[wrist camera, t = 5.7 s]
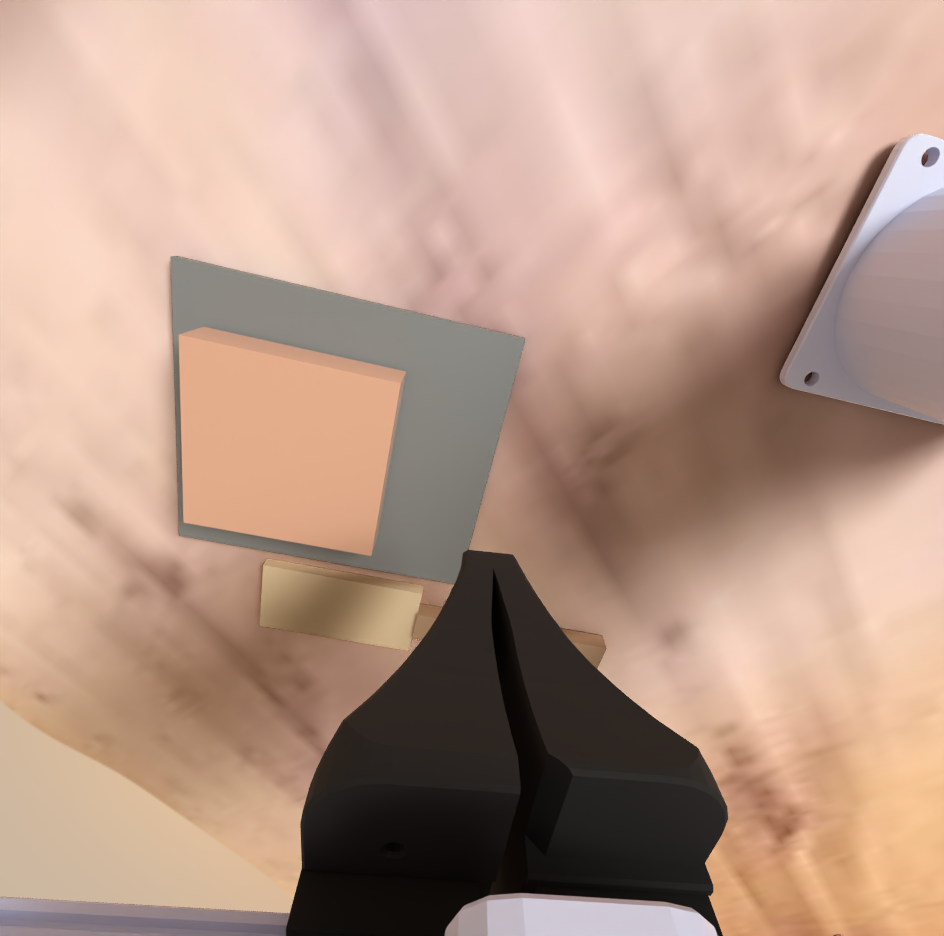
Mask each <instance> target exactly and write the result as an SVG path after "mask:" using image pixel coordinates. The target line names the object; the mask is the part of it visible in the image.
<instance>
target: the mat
mask: <svg viewBox="0 0 944 936" xmlns="http://www.w3.org/2000/svg"><path fill="white" fill-rule="evenodd" d="M171 286H172V318H173V350H174V383H175V415H176V447H177V480H178V512H179V536H185V537H190V538H196V539H202V540H207V541H213V542H219V543H224V544H230V545H236V546H241V547H247V548H253V549H258V550H264V551H270V552H275V553H281V554H287V555H292V556H298V557H304V558H310V559H315V560H321V561H327V562H332V563H338V564H344V565H349V566H355V567H361V568H366V569H372V570H378V571H383V572H389V573H395V574H400V575H406V576H412V577H417V578H423V579H429V580H434V581H440V582H446V583H452V584H455V582H456V580H457V577H458V574H459V571H460V568H461V562H462V555H463V553H464V552H465V551H467V550H468V549H469V545H470V542H471V538H472V534H473V531H474V527H475V523H476V520H477V516H478V512H479V509H480V505H481V501H482V498H483V494H484V490H485V487H486V483H487V479H488V476H489V472H490V468H491V464H492V461H493V457H494V453H495V450H496V446H497V442H498V439H499V435H500V431H501V428H502V424H503V420H504V417H505V413H506V409H507V406H508V402H509V398H510V394H511V391H512V387H513V383H514V380H515V376H516V372H517V369H518V365H519V361H520V358H521V354H522V350H523V347H524V343H525V338H523V337H519V336H515V335H510V334H506V333H502V332H498V331H493V330H489V329H485V328H481V327H476V326H472V325H468V324H464V323H459V322H455V321H451V320H447V319H442V318H438V317H434V316H430V315H425V314H421V313H417V312H413V311H408V310H404V309H400V308H396V307H391V306H387V305H383V304H379V303H374V302H370V301H366V300H362V299H357V298H353V297H349V296H345V295H341V294H336V293H332V292H328V291H324V290H319V289H315V288H311V287H307V286H302V285H298V284H294V283H290V282H285V281H281V280H277V279H273V278H268V277H264V276H260V275H256V274H251V273H247V272H243V271H239V270H234V269H230V268H226V267H222V266H217V265H213V264H209V263H205V262H200V261H196V260H192V259H188V258H183V257H179V256H171ZM201 327H208V328H212V329H217V330H221V331H226V332H230V333H235V334H239V335H244V336H248V337H253V338H257V339H262V340H267V341H271V342H276V343H280V344H285V345H289V346H294V347H298V348H303V349H307V350H312V351H316V352H321V353H325V354H330V355H334V356H339V357H343V358H348V359H352V360H357V361H361V362H366V363H370V364H375V365H379V366H384V367H388V368H393V369H397V370H402V371H406V375H405V381H404V387H403V392H402V398H401V404H400V410H399V415H398V421H397V427H396V433H395V438H394V444H393V450H392V456H391V461H390V467H389V473H388V479H387V484H386V490H385V496H384V502H383V507H382V513H381V519H380V525H379V530H378V535H377V538H376V542H375V545H374V548H373V552H372V555H371V556H368V555H362V554H357V553H351V552H346V551H340V550H334V549H329V548H323V547H318V546H312V545H307V544H301V543H295V542H290V541H284V540H279V539H273V538H267V537H262V536H256V535H251V534H245V533H239V532H234V531H228V530H223V529H217V528H212V527H206V526H200V525H195V524H189V523H184V521H183V482H182V444H181V406H180V367H179V334H182V333H185V332H189V331H192V330H195V329H198V328H201Z"/></svg>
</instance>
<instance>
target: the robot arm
mask: <svg viewBox="0 0 944 936" xmlns="http://www.w3.org/2000/svg"><path fill="white" fill-rule="evenodd" d="M925 151H927V152H928V159H927V162H926V163H925V165H924V166H923V165H922V163H921V159H922V155H923V154H924V153H925ZM810 372H812V377H811V379H810V380H809V381H807V382H806V383H805V382H804V380H805V377H806V376H807V374H809V373H810ZM780 381H781V383H782V384H783V385H785V386H787V387H789V388H792V389H796V390H800V391H804V392H808V393H812V394H817V395H821V396H825V397H829V398H833V399H838V400H842V401H846V402H850V403H854V404H859V405H863V406H867V407H871V408H875V409H880V410H884V411H888V412H892V413H896V414H901V415H905V416H909V417H913V418H917V419H921V420H926V421H930V422H934V423H938V424H942V425H944V140H943V139H940V138H937V137H933V136H930V135H927V134H914V135H910V136H908V137H905V138H903V139H902V140H900V141H899V142H898V143H897V144H896V145H895V147H894V148H893V150H892V152H891V154H890V156H889V158H888V160H887V162H886V164H885V166H884V168H883V169H882V171H881V173H880V175H879V177H878V179H877V181H876V183H875V185H874V187H873V189H872V191H871V193H870V195H869V197H868V199H867V201H866V203H865V205H864V207H863V209H862V211H861V213H860V215H859V217H858V219H857V221H856V223H855V225H854V227H853V229H852V231H851V233H850V235H849V237H848V239H847V241H846V243H845V245H844V247H843V249H842V251H841V253H840V255H839V257H838V259H837V261H836V263H835V265H834V267H833V269H832V271H831V273H830V275H829V277H828V279H827V281H826V282H825V284H824V286H823V288H822V290H821V292H820V294H819V296H818V298H817V300H816V302H815V304H814V306H813V308H812V310H811V312H810V314H809V316H808V318H807V320H806V322H805V324H804V326H803V328H802V330H801V332H800V334H799V336H798V338H797V340H796V342H795V344H794V346H793V348H792V350H791V352H790V354H789V356H788V358H787V360H786V362H785V364H784V366H783V368H782V370H781V373H780ZM727 820H728V812H727V806H726V803H725V801H724V799H723V797H722V795H721V792H720V790H719V788H718V786H717V783H716V781H715V779H714V777H713V775H712V773H711V771H710V769H709V767H708V765H707V764H706V762H705V760H704V758H703V757H702V755H701V753H700V751H699V749H698V748H697V747H696V746H694V745H693V744H691V743H690V742H689V741H687V740H686V739H684V738H683V737H681V736H680V735H678V734H677V733H675V732H674V731H672V730H671V729H670V728H668V727H667V726H665V725H664V724H662V723H661V722H659V721H658V720H657V719H655V718H654V717H653V716H651V715H650V714H649V713H647V712H646V711H645V710H644V709H642V708H641V707H640V706H639V705H637V704H636V703H635V702H633V701H632V700H631V699H630V698H629V697H627V696H626V695H625V694H624V693H623V692H622V691H620V690H619V689H618V688H617V687H616V686H615V685H614V684H612V683H611V682H610V681H609V680H608V679H607V678H606V677H605V676H604V675H603V674H602V673H601V672H600V671H598V670H597V669H596V668H595V667H594V666H593V665H592V664H591V663H590V662H589V661H588V660H587V659H586V657H585V656H584V655H583V654H582V653H581V652H580V651H579V650H578V649H577V648H576V647H575V645H574V644H573V643H572V642H571V641H570V640H569V638H568V637H567V636H566V635H565V633H564V632H563V631H562V630H561V628H560V627H559V626H558V624H557V623H556V622H555V620H554V619H553V618H552V616H551V615H550V614H549V612H548V611H547V609H546V608H545V606H544V605H543V603H542V602H541V600H540V599H539V597H538V596H537V594H536V593H535V591H534V590H533V588H532V586H531V585H530V583H529V581H528V580H527V578H526V576H525V575H524V573H523V571H522V569H521V568H520V566H519V564H518V562H517V560H516V558H515V557H514V556H513V555H511V554H502V553H492V552H483V551H473V550H467V551H465V552H464V553H463V555H462V562H461V568H460V571H459V574H458V577H457V580H456V582H455V584H454V586H453V588H452V591H451V593H450V595H449V597H448V599H447V601H446V603H445V604H444V606H443V608H442V610H441V611H440V613H439V615H438V617H437V618H436V620H435V622H434V623H433V625H432V626H431V628H430V629H429V631H428V632H427V634H426V635H425V636H424V638H423V639H422V641H421V642H420V643H419V645H418V646H417V647H416V648H415V650H414V651H413V652H412V653H411V655H410V656H409V657H408V658H407V660H406V661H405V662H404V663H403V664H402V665H401V667H400V668H399V669H398V670H397V671H396V672H395V673H394V674H393V675H392V676H391V677H390V678H389V679H388V680H387V681H386V682H385V683H384V684H383V685H382V686H381V687H380V688H379V689H378V690H377V691H376V692H375V693H374V694H373V695H372V696H371V697H370V698H369V699H367V700H366V701H365V702H364V703H363V704H362V705H360V706H359V707H358V708H357V709H356V710H355V711H353V712H352V713H351V714H350V715H349V716H348V717H346V718H345V719H344V720H343V722H342V723H341V725H340V726H339V728H338V730H337V732H336V733H335V735H334V737H333V738H332V740H331V742H330V744H329V745H328V747H327V749H326V751H325V753H324V755H323V757H322V759H321V761H320V763H319V765H318V767H317V769H316V772H315V774H314V777H313V779H312V782H311V784H310V788H309V791H308V795H307V798H306V802H305V805H304V809H303V813H302V819H301V851H302V870H301V874H300V878H299V881H298V885H297V889H296V893H295V896H294V900H293V904H292V908H291V912H290V913H273V912H256V911H239V910H221V909H220V910H219V909H204V908H203V909H202V908H186V907H169V906H152V905H135V904H117V903H100V902H82V901H65V900H47V899H31V898H14V897H0V936H723V935H722V932H721V929H720V927H719V924H718V921H717V918H716V916H715V913H714V910H713V907H712V905H711V902H710V899H709V897H708V895H709V896H711V894H712V893H713V884H712V881H711V879H710V876H709V873H708V871H707V868H706V865H705V862H706V860H707V858H708V857H709V855H710V853H711V852H712V850H713V848H714V847H715V845H716V843H717V842H718V840H719V839H720V837H721V835H722V833H723V831H724V828H725V826H726V823H727Z"/></svg>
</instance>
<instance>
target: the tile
mask: <svg viewBox="0 0 944 936" xmlns="http://www.w3.org/2000/svg"><path fill="white" fill-rule="evenodd" d="M179 367H180V406H181V444H182V482H183V521H184V523H189V524H195V525H200V526H206V527H212V528H217V529H223V530H228V531H234V532H239V533H245V534H251V535H256V536H262V537H267V538H273V539H279V540H284V541H290V542H295V543H301V544H307V545H312V546H318V547H323V548H329V549H334V550H340V551H346V552H351V553H357V554H362V555H368V556H371V555H372V552H373V548H374V545H375V542H376V538H377V535H378V530H379V525H380V519H381V513H382V507H383V502H384V496H385V490H386V484H387V479H388V473H389V467H390V461H391V456H392V450H393V444H394V438H395V433H396V427H397V421H398V415H399V410H400V404H401V398H402V392H403V387H404V381H405V375H406V371H402V370H397V369H393V368H388V367H384V366H379V365H375V364H370V363H366V362H361V361H357V360H352V359H348V358H343V357H339V356H334V355H330V354H325V353H321V352H316V351H312V350H307V349H303V348H298V347H294V346H289V345H285V344H280V343H276V342H271V341H267V340H262V339H257V338H253V337H248V336H244V335H239V334H235V333H230V332H226V331H221V330H217V329H212V328H208V327H201V328H198V329H195V330H192V331H189V332H185V333H182V334H179Z"/></svg>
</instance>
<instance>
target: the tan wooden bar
mask: <svg viewBox="0 0 944 936" xmlns="http://www.w3.org/2000/svg"><path fill="white" fill-rule="evenodd" d="M422 592H423V586H422V585H417V584H411V583H405V582H399V581H394V580H388V579H382V578H377V577H371V576H365V575H359V574H354V573H348V572H342V571H336V570H331V569H325V568H319V567H313V566H308V565H302V564H296V563H291V562H285V561H279V560H273V559H268V558H267V560H266V561H265V563H264V564H263V575H262V592H261V609H260V626H264V627H270V628H275V629H281V630H287V631H293V632H299V633H305V634H311V635H317V636H323V637H329V638H334V639H340V640H346V641H352V642H358V643H364V644H370V645H376V646H382V647H388V648H394V649H399V650H405V651H409V648H410V644H411V640H412V638H416V639H423V638H424V636H425V635H426V634H427V632H428V631H429V629H430V628H431V626H432V625H433V623H434V622H435V620H436V618H437V617H438V615H439V613H440V611H441V610H442V608H443V607H438V606H432V605H426V604H420V601H421V597H422ZM561 630H562V631H563V632H564V633H565V635H566V636H567V637H568V638H569V640H570V641H571V642H572V643H573V644H574V645H575V647H576V648H577V649H578V650H579V651H580V652H581V653H582V654H583V655H584V656H585V657H586V659H587V660H588V661H589V662H590V663H591V664H592V665H593V666H594V667H595V668H596V669H597V668H598V666H599V663H600V661H601V659H602V657H603V655H604V653H605V650H606V645H605V643H604V640H603V637H602V636H601V635H595V634H590V633H584V632H578V631H573V630H567V629H562V628H561Z"/></svg>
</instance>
